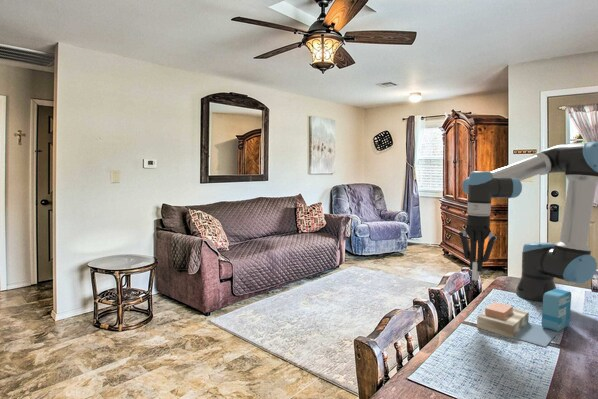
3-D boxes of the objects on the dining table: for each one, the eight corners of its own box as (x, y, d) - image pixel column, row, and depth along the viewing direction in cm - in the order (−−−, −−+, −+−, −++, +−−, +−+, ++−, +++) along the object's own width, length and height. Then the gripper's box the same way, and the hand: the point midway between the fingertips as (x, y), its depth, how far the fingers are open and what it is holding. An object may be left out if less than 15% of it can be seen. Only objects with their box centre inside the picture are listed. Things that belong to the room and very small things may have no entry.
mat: (528, 323, 131) (528, 322, 131) (558, 330, 125) (559, 330, 125) (512, 337, 119) (512, 336, 119) (545, 347, 113) (545, 346, 113)
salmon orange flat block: (494, 307, 135) (494, 301, 135) (512, 311, 131) (512, 306, 131) (485, 313, 129) (485, 308, 129) (503, 318, 125) (504, 312, 124)
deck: (494, 314, 139) (495, 303, 139) (528, 323, 131) (528, 311, 131) (477, 327, 127) (477, 316, 127) (512, 337, 119) (513, 325, 119)
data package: (556, 332, 122) (558, 296, 122) (540, 328, 126) (543, 293, 125) (569, 325, 129) (571, 290, 129) (554, 320, 133) (556, 287, 132)
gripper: (456, 213, 135) (453, 277, 137) (494, 217, 126) (490, 285, 128) (464, 212, 140) (461, 274, 142) (502, 215, 131) (498, 281, 133)
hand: (475, 279), depth 135 cm, fingers closed
